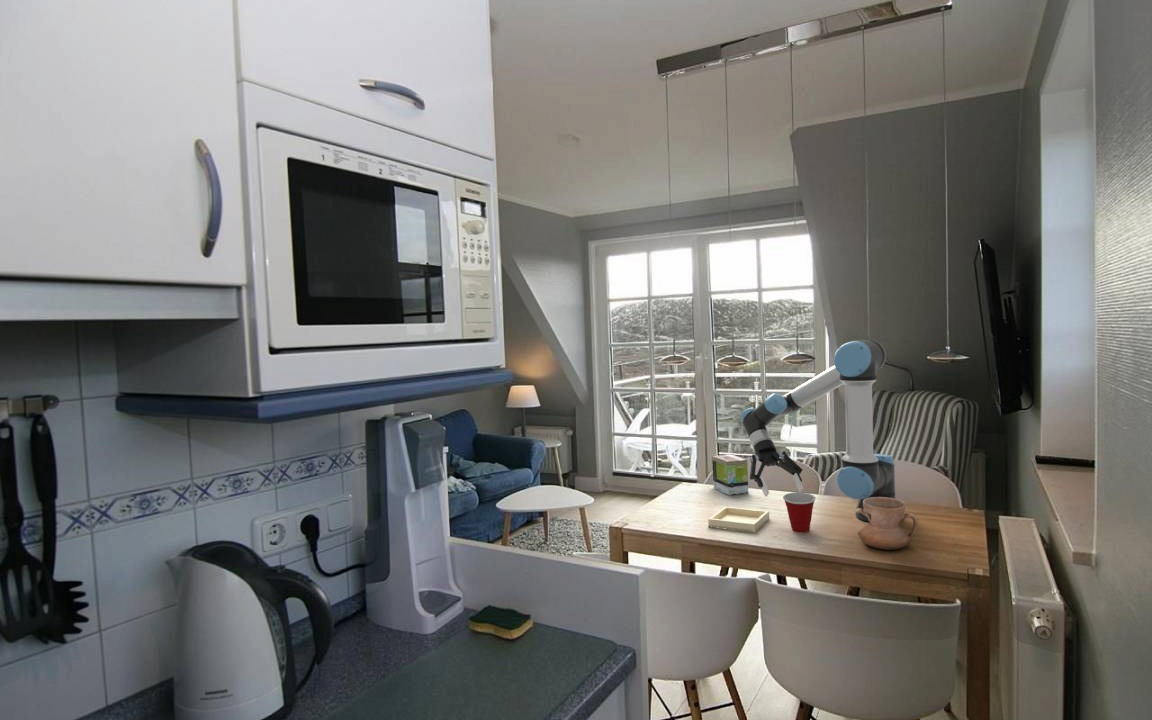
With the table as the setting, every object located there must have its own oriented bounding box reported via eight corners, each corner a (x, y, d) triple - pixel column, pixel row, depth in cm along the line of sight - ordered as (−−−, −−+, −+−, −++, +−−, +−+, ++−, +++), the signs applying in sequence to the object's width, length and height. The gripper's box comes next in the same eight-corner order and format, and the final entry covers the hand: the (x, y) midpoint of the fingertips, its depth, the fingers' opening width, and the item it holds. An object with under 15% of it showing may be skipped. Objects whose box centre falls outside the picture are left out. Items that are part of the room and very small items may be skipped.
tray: (769, 519, 237) (769, 511, 237) (754, 532, 223) (754, 524, 223) (725, 514, 247) (725, 506, 247) (708, 527, 233) (708, 518, 233)
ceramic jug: (853, 549, 201) (852, 505, 201) (858, 535, 214) (857, 493, 213) (917, 558, 193) (917, 511, 192) (919, 542, 205) (918, 498, 204)
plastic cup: (785, 535, 219) (784, 500, 218) (783, 525, 229) (781, 492, 229) (819, 535, 216) (817, 500, 216) (815, 525, 227) (813, 492, 226)
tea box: (749, 493, 275) (747, 459, 275) (728, 496, 273) (726, 461, 272) (733, 485, 290) (731, 453, 289) (712, 488, 288) (711, 455, 287)
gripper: (789, 446, 250) (812, 494, 236) (729, 453, 245) (749, 501, 231) (796, 435, 244) (819, 483, 230) (735, 441, 240) (755, 490, 226)
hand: (784, 492), depth 231 cm, fingers open, 13 cm apart
